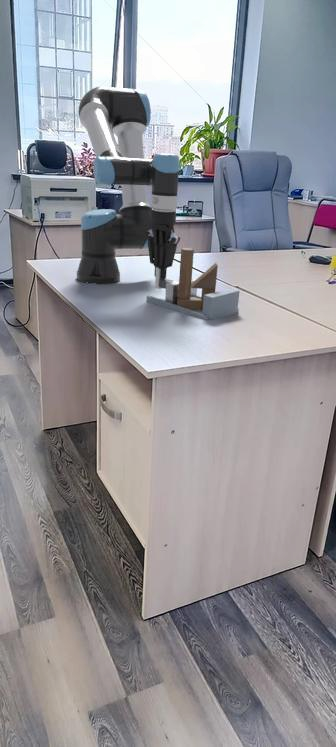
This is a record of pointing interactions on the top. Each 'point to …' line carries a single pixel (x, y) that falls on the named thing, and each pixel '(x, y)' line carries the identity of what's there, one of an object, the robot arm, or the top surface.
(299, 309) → the top surface
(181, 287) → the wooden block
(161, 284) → the sliding jaw
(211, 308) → the vise base
